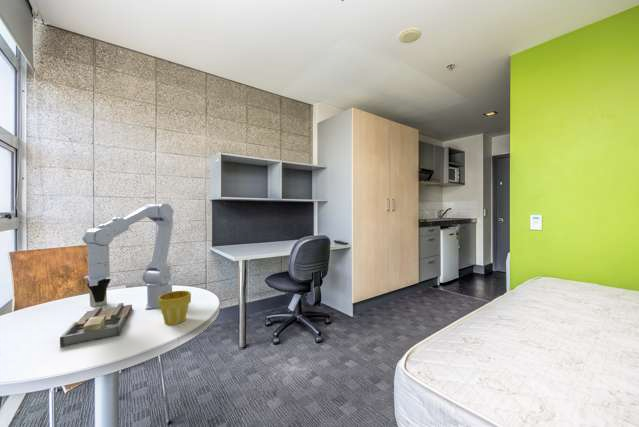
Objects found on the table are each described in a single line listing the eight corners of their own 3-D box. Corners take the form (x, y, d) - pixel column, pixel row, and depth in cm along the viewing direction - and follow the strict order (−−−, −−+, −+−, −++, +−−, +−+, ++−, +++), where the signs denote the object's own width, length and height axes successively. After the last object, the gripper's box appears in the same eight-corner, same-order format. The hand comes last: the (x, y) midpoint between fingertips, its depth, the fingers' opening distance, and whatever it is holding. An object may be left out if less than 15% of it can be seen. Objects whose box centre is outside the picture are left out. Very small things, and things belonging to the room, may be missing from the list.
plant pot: (183, 326, 89) (182, 299, 88) (152, 328, 88) (152, 300, 88) (195, 315, 99) (195, 289, 99) (168, 316, 98) (167, 290, 98)
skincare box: (107, 304, 112) (106, 276, 112) (94, 307, 108) (94, 278, 108) (101, 301, 116) (101, 274, 116) (89, 304, 112) (88, 277, 112)
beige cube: (103, 330, 85) (102, 318, 85) (100, 335, 82) (99, 323, 82) (87, 333, 83) (87, 321, 83) (83, 339, 80) (83, 326, 80)
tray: (125, 322, 93) (125, 313, 93) (118, 335, 83) (118, 326, 83) (74, 331, 86) (74, 322, 86) (60, 347, 76) (59, 337, 76)
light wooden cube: (105, 314, 88) (102, 318, 85) (105, 326, 89) (102, 330, 85) (90, 317, 87) (86, 321, 83) (90, 329, 87) (87, 333, 83)
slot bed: (131, 309, 106) (131, 301, 106) (125, 321, 93) (125, 313, 93) (87, 316, 99) (87, 308, 99) (74, 330, 87) (74, 321, 87)
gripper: (90, 260, 93) (91, 297, 93) (76, 268, 80) (77, 310, 80) (114, 258, 96) (115, 294, 97) (104, 265, 84) (105, 306, 84)
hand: (99, 301), depth 89 cm, fingers closed
